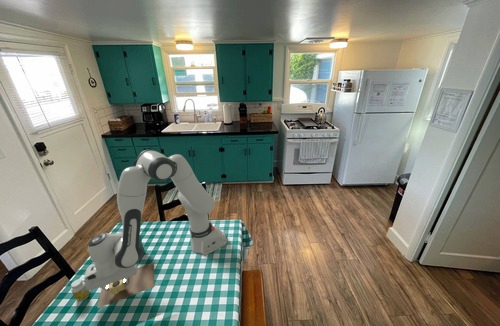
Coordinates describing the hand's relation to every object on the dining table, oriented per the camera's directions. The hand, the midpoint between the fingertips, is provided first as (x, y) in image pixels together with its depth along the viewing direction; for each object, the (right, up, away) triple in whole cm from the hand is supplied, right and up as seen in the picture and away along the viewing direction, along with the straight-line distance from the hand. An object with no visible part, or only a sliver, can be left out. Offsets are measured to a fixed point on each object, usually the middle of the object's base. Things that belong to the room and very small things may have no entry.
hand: (116, 286), depth 98 cm
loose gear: (0, -1, 0) cm, 1 cm away
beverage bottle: (-2, +4, +24) cm, 24 cm away
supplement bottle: (-17, -6, +1) cm, 18 cm away
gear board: (+2, -3, +6) cm, 7 cm away
